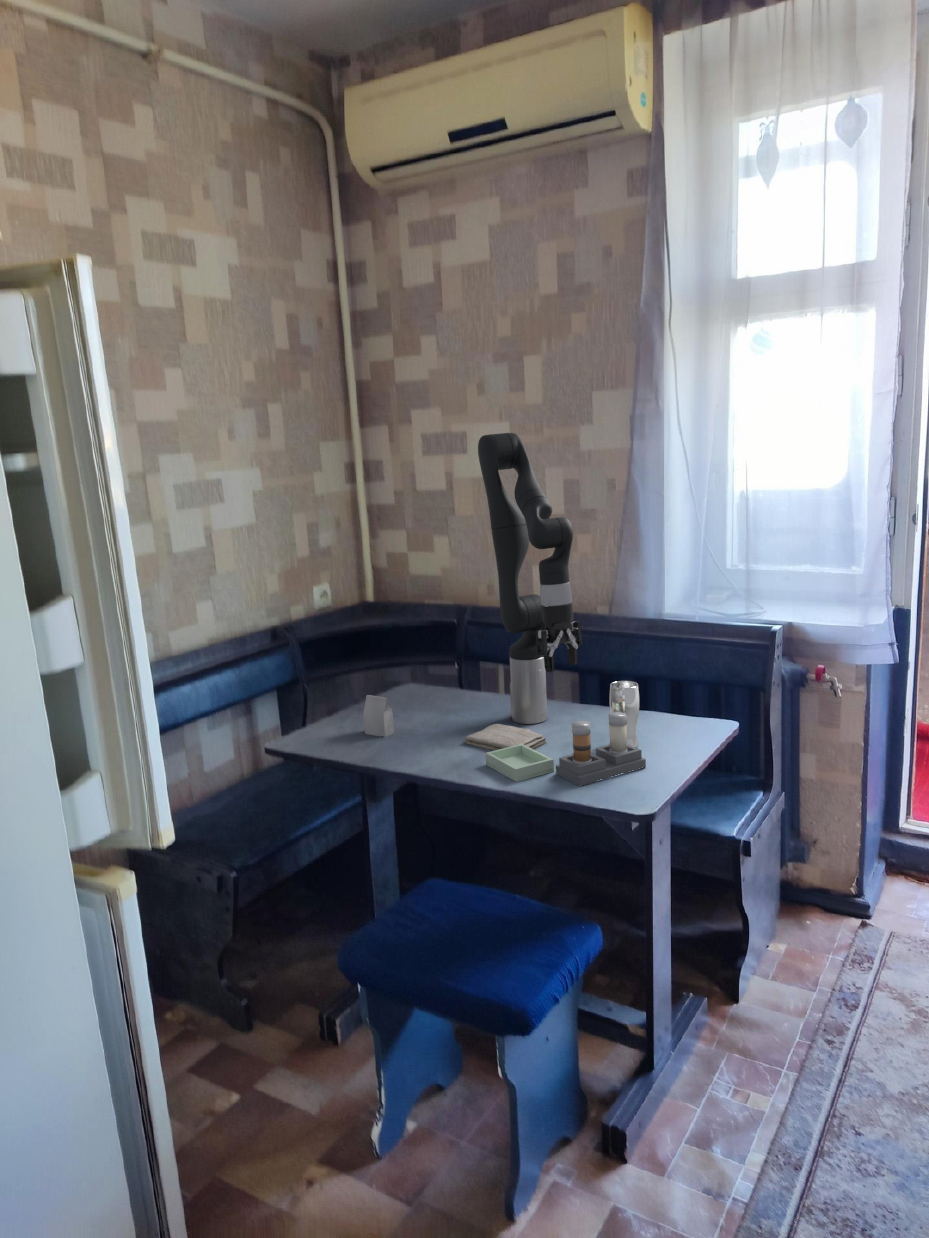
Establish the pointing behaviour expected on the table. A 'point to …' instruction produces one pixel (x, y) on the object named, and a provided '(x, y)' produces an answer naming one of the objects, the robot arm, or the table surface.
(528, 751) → the parts tray
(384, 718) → the tea bag
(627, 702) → the beer glass
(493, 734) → the washcloth
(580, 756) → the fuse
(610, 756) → the fuse block
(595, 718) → the table surface
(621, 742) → the fuse
